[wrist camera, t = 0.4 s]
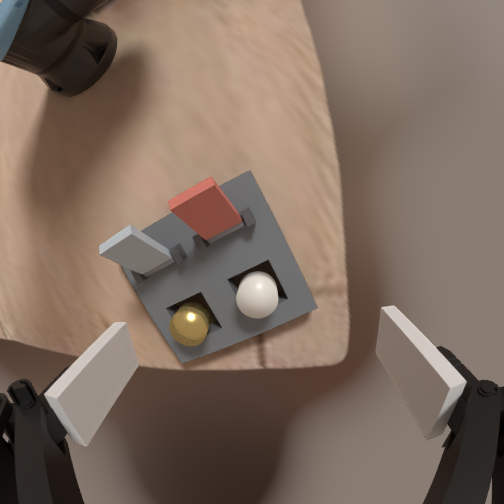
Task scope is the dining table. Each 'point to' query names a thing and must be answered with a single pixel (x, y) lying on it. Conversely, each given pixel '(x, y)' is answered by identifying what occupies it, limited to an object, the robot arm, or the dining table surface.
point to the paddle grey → (136, 251)
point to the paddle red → (207, 210)
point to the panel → (222, 272)
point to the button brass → (190, 324)
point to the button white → (257, 295)
